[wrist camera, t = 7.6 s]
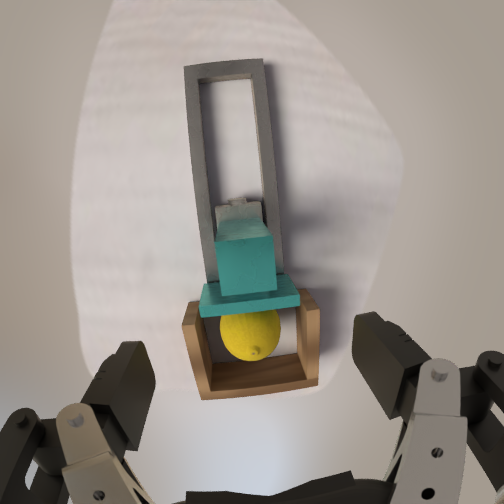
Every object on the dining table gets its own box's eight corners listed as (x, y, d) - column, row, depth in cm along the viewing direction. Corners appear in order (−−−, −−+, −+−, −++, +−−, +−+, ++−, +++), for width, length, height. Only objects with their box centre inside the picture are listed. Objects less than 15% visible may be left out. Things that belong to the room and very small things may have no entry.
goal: (188, 302, 29) (181, 325, 24) (306, 288, 29) (319, 309, 25) (204, 372, 31) (201, 400, 26) (307, 359, 32) (318, 385, 27)
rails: (185, 71, 23) (183, 66, 21) (261, 64, 23) (262, 58, 22) (212, 301, 29) (211, 307, 27) (283, 292, 29) (285, 298, 28)
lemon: (261, 272, 28) (273, 316, 21) (281, 314, 30) (296, 363, 22) (211, 293, 28) (206, 341, 21) (234, 332, 30) (237, 384, 23)
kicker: (194, 203, 26) (173, 217, 16) (278, 193, 26) (307, 203, 17) (206, 287, 28) (196, 342, 18) (285, 278, 29) (312, 328, 19)
